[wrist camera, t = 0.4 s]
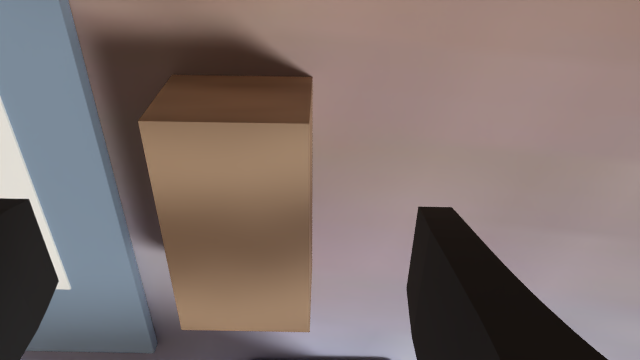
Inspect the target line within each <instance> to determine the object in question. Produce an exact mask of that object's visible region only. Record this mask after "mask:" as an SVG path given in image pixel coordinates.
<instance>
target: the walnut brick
mask: <svg viewBox="0 0 640 360" xmlns="http://www.w3.org/2000/svg"><path fill="white" fill-rule="evenodd" d="M138 124H139V129H140V134H141V138H142V143H143V148H144V153H145V158H146V162H147V167H148V172H149V177H150V181H151V186H152V191H153V196H154V201H155V205H156V210H157V215H158V220H159V225H160V229H161V234H162V239H163V244H164V248H165V253H166V258H167V263H168V268H169V272H170V277H171V282H172V287H173V291H174V296H175V301H176V306H177V311H178V315H179V320H180V325H181V330H218V331H276V332H310V306H311V280H312V77H291V76H228V75H172V76H171V77H170V78H169V80H168V81H167V82H166V84H165V85H164V86H163V88H162V89H161V90H160V92H159V93H158V95H157V96H156V97H155V99H154V100H153V101H152V103H151V104H150V105H149V107H148V108H147V110H146V111H145V112H144V114H143V115H142V116H141V118H140V119H139V120H138Z"/></svg>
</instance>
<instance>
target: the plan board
mask: <svg viewBox="0 0 640 360" xmlns="http://www.w3.org/2000/svg"><path fill="white" fill-rule="evenodd" d="M0 198H6V199H29V200H30V203H31V206H32V209H33V211H34V214H35V217H36V220H37V222H38V225H39V228H40V230H41V233H42V236H43V239H44V241H45V244H46V247H47V250H48V252H49V255H50V258H51V261H52V263H53V266H54V269H55V271H56V274H57V277H58V280H59V282H58V284H57V287H56V289H55V292H54V294H53V297H52V299H51V301H50V304H49V306H48V309H47V311H46V313H45V315H44V317H43V319H42V322H41V324H40V326H39V328H38V330H37V332H36V334H35V335H34V337H33V339H32V340H31V342H30V344H29V345H28V347H27V349H26V350H25V351H58V352H113V353H154V352H155V349H156V347H157V344H158V343H157V339H156V335H155V332H154V328H153V324H152V320H151V316H150V312H149V309H148V305H147V301H146V297H145V293H144V289H143V286H142V282H141V278H140V274H139V270H138V266H137V262H136V259H135V255H134V251H133V247H132V243H131V239H130V236H129V232H128V228H127V224H126V220H125V216H124V213H123V209H122V205H121V201H120V197H119V193H118V190H117V186H116V182H115V178H114V174H113V170H112V166H111V163H110V159H109V155H108V151H107V147H106V143H105V140H104V136H103V132H102V128H101V124H100V120H99V117H98V113H97V109H96V105H95V101H94V97H93V94H92V90H91V86H90V82H89V78H88V74H87V70H86V67H85V63H84V59H83V55H82V51H81V47H80V44H79V40H78V36H77V32H76V28H75V24H74V21H73V17H72V13H71V9H70V5H69V1H68V0H0Z"/></svg>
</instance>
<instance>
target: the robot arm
mask: <svg viewBox="0 0 640 360" xmlns="http://www.w3.org/2000/svg"><path fill="white" fill-rule="evenodd" d="M58 282H59V280H58V277H57V274H56V271H55V269H54V266H53V263H52V261H51V258H50V255H49V252H48V250H47V247H46V244H45V241H44V239H43V236H42V233H41V230H40V228H39V225H38V222H37V220H36V217H35V214H34V211H33V209H32V206H31V203H30V200H29V199H6V198H0V360H20V359H21V357H22V355H23V354H24V352H25V350H26V349H27V347H28V345H29V344H30V342H31V340H32V339H33V337H34V335H35V334H36V332H37V330H38V328H39V326H40V324H41V322H42V319H43V317H44V315H45V313H46V311H47V309H48V306H49V304H50V301H51V299H52V297H53V294H54V292H55V289H56V287H57V284H58ZM407 297H408V307H409V316H410V324H411V333H412V339H413V344H414V348H415V353H416V357H417V360H608V359H606V358H605V357H604V356H603V355H601V354H600V353H599V352H598V351H596V350H595V349H594V348H593V347H592V346H591V345H589V344H588V343H587V342H586V341H585V340H583V339H582V338H581V337H580V336H579V335H578V334H576V333H575V332H574V331H573V330H572V329H571V328H570V327H569V326H568V325H566V324H565V323H564V322H563V321H562V320H561V319H560V318H559V317H558V316H557V315H555V314H554V313H553V312H552V311H551V310H550V309H549V308H548V307H547V306H546V305H544V304H543V303H542V302H541V301H540V300H539V299H538V298H537V297H536V296H535V295H534V294H533V293H532V292H531V291H530V290H529V289H528V288H527V287H526V286H525V285H524V284H523V283H522V282H521V281H520V280H519V279H518V278H517V277H516V276H515V275H514V274H513V273H512V272H511V271H510V270H509V269H508V268H507V267H506V266H505V265H504V264H503V263H502V262H501V261H500V260H499V258H498V257H497V256H496V255H495V254H494V253H493V252H492V251H491V250H490V249H489V248H488V247H487V246H486V244H485V243H484V242H483V241H482V240H481V239H480V238H479V237H478V236H477V235H476V233H475V232H474V231H473V230H472V229H471V228H470V227H469V226H468V225H467V224H466V222H465V221H464V220H463V219H462V218H461V217H460V216H459V215H458V214H457V213H456V211H455V210H454V209H453V208H452V207H418V213H417V220H416V227H415V234H414V241H413V248H412V254H411V261H410V268H409V275H408V282H407Z"/></svg>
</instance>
